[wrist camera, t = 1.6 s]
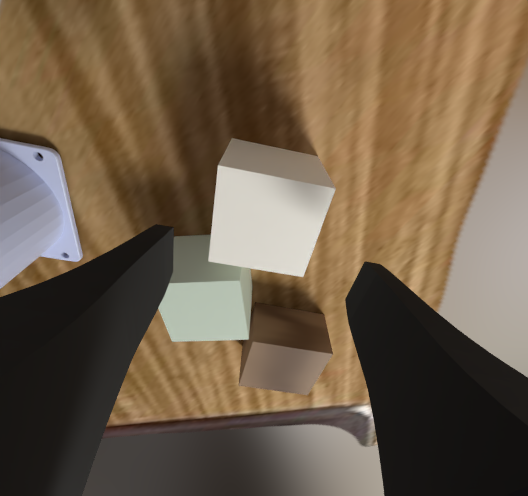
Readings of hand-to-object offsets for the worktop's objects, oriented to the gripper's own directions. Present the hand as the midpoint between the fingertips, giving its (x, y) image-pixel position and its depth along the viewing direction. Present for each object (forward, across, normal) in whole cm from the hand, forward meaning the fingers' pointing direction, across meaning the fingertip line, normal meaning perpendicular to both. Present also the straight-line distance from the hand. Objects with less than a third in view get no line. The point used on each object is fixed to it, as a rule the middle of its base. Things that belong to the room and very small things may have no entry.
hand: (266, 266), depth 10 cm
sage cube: (+8, +3, +6) cm, 10 cm away
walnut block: (+8, -4, +13) cm, 16 cm away
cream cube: (+8, 0, 0) cm, 8 cm away
